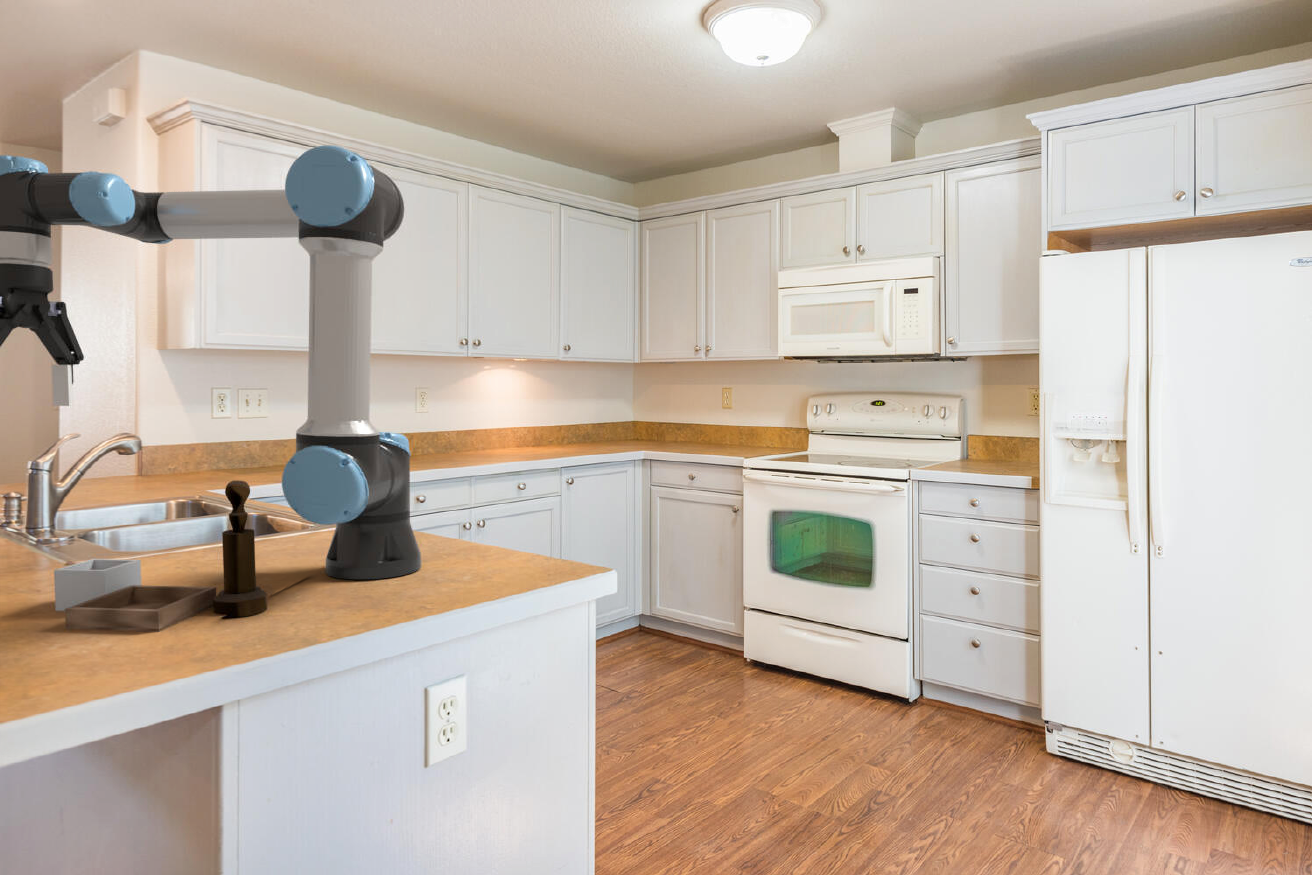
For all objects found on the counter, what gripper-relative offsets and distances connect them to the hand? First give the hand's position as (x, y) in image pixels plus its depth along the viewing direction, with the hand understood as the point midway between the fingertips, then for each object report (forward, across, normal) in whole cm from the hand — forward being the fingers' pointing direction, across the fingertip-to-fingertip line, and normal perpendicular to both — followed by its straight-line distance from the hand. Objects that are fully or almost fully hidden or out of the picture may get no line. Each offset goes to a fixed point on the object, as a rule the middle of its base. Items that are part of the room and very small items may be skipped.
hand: (27, 407), depth 124 cm
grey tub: (+27, +12, +19) cm, 35 cm away
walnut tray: (+27, +16, +30) cm, 43 cm away
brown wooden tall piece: (+28, +11, +39) cm, 49 cm away
